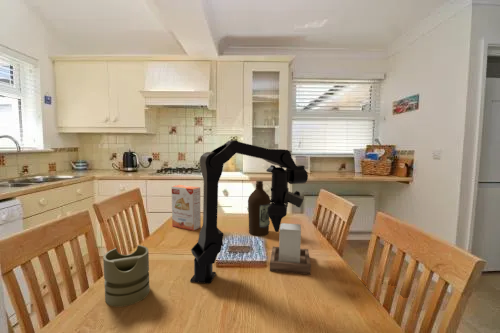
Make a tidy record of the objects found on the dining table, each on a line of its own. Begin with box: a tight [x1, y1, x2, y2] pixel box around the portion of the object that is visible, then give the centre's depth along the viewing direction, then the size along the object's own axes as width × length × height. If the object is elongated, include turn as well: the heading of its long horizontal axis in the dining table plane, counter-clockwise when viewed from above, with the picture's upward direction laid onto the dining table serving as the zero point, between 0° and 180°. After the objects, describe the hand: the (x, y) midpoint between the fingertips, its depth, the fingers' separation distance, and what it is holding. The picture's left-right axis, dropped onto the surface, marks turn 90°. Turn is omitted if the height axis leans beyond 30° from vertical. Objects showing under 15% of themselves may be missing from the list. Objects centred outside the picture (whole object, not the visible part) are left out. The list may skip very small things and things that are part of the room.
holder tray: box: [269, 246, 312, 275], centre depth 92 cm, size 13×13×3 cm
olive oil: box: [247, 180, 271, 237], centre depth 122 cm, size 11×11×25 cm
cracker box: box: [171, 184, 202, 232], centre depth 129 cm, size 14×6×21 cm, turn 62°
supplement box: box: [278, 222, 302, 263], centre depth 91 cm, size 7×7×13 cm
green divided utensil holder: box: [102, 244, 150, 308], centre depth 72 cm, size 11×12×11 cm
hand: (277, 227), depth 92 cm, fingers open, 9 cm apart
